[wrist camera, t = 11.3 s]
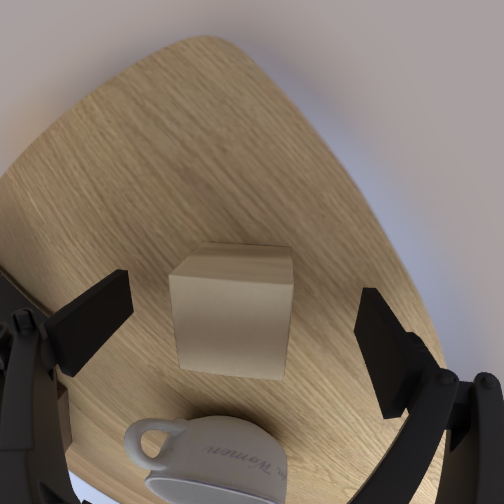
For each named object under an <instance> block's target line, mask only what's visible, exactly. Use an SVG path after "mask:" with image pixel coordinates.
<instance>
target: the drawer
mask: <svg viewBox="0 0 504 504" xmlns="http://www.w3.org/2000/svg"><path fill="white" fill-rule="evenodd" d="M22 308H31V309H32V310H33V311H34V314H35V317H36V321H37V324H38V326H39V325H40V324H41V323H43V322H44V321H45V320H46V319H48V317H47V316H46V315H45V314H44V313H42V312H41V311H40V310H39V309H38V308H37V307H36V306H34V305H33V304H32V303H31V302H30V301H29V300H28V299H27V298H26V297H24V296H23V295H22V294H21V293H20V292H19V291H18V290H17V289H16V288H15V287H14V286H13V285H12V284H11V283H10V282H9V281H8V280H7V279H6V278H5V277H4V276H3V275H2V274H1V273H0V322H6V323H7V324H8V326H9V329H10V331H12V332H15V329H14V326H13V323H12V320H11V317H10V316H11V314H12V313H14V312H15V311H17V310H19V309H22ZM1 368H2V363H1V361H0V369H1Z"/></svg>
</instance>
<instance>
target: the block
mask: <svg viewBox="0 0 504 504" xmlns="http://www.w3.org/2000/svg"><path fill="white" fill-rule="evenodd" d="M169 287H170V297H171V307H172V316H173V324H174V332H175V339H176V346H177V353H178V360H179V366H180V368H181V369H186V370H192V371H198V372H204V373H211V374H218V375H226V376H235V377H244V378H254V379H266V380H281V381H282V380H283V378H284V371H285V363H286V355H287V347H288V339H289V331H290V322H291V313H292V304H293V294H294V275H293V262H292V249H291V247H277V246H261V245H244V244H227V243H209V242H202V243H201V244H200V245H199V246H198V247H197V248H196V249H194V250H193V251H192V252H191V253H190V254H189V255H188V256H187V257H186V258H185V259H184V260H183V261H182V262H181V263H180V264H179V265H178V266H177V267H176V268H175V269H174V270H173V271H172V272H171V273H170V274H169Z"/></svg>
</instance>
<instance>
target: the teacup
mask: <svg viewBox="0 0 504 504" xmlns="http://www.w3.org/2000/svg"><path fill="white" fill-rule="evenodd" d="M148 430H161V431H165V432H168V433H170V434H169V435H168V437H167V438H166V440H165V442H164V444H163V446H162V448H161V450H160V452H159V454H158V455H157V457H155V458H151V457H149V456H147V455H146V454H145V453H144V452H143V450H142V447H141V437H142V435H143V433H144V432H146V431H148ZM124 448H125V451H126V453H127V455H128V457H129V458H130V459H131V461H132V462H133V463H135V464H136V465H138V466H140V467H141V468H144V469H148V470H151V472H150V474H149V476H147V477H146V479H145V485H146V486H147V487H148V489H149V490H150V491H152V492H153V493H154V494H156V495H157V496H158V497H160V498H162V499H163V500H165V501H167V502H169V503H171V504H285V498H286V489H287V458H286V454H285V451H284V449H283V447H282V446H281V445H280V443H279V442H278V441H277V440H276V439H275V438H273V437H272V436H271V435H269V434H268V433H266V432H265V431H264V430H263V429H261V428H260V427H258V426H257V425H255V424H253V423H251V422H248V421H246V420H242V419H239V418H235V417H230V416H207V417H202V418H198V419H192V420H189V421H187V420H186V419H183V418H176V419H174V420H173V421H172V420H166V419H158V418H147V419H142V420H139V421H137V422H135V423H133V424H132V425H130V427H129V428H128V429H127V430H126V432H125V436H124Z"/></svg>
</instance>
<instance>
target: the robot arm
mask: <svg viewBox="0 0 504 504" xmlns="http://www.w3.org/2000/svg"><path fill="white" fill-rule="evenodd" d="M133 312H134V310H133V304H132V298H131V291H130V284H129V277H128V270H119V269H117V270H115V271H114V272H113V273H111V274H110V275H108V276H107V277H105V278H104V279H102V280H101V281H100V282H98V283H97V284H95V285H94V286H92V287H91V288H90V289H88V290H87V291H85V292H84V293H83V294H81V295H80V296H78V297H77V298H76V299H74V300H73V301H72V302H70V303H69V304H67V305H65V306H64V307H62V308H61V309H60V310H59V311H57V312H56V313H54V315H52V316H50V317H49V318H48V319H46V320H45V321H44V322H43V323H41V324H40V325H39V326H38V324H37V321H36V317H35V314H34V311H33V310H32V309H31V308H22V309H19V310H17V311H15V312H14V313H12V314H11V316H10V317H11V320H12V323H13V326H14V329H15V332H12V331H10V329H9V326H8V324H7V323H6V322H0V361H1V363H2V368H1V369H0V504H81V502H80V500H79V499H78V498H77V496H76V494H75V493H74V491H73V488H72V485H71V481H70V477H69V472H68V468H67V463H66V458H65V453H64V448H63V442H62V435H61V428H60V420H59V410H58V398H57V380H56V371H55V368H54V366H55V365H56V364H57V363H58V365H59V367H60V369H61V372H62V373H63V374H66V375H68V376H71V377H74V376H75V375H76V374H77V373H78V372H79V371H80V370H81V368H82V367H83V366H84V365H85V364H86V363H87V362H88V361H89V360H90V358H91V357H92V356H93V355H94V354H95V353H96V352H97V351H98V350H99V349H100V347H101V346H102V345H103V344H104V343H105V342H106V341H107V340H108V339H109V338H110V337H111V336H112V335H113V333H114V332H115V331H116V330H117V329H118V328H119V327H120V326H121V325H122V324H123V323H124V322H125V321H126V320H127V319H128V318H129V317H130V316H131V315H132V313H133ZM354 334H355V336H356V339H357V342H358V344H359V347H360V350H361V353H362V355H363V358H364V361H365V364H366V367H367V370H368V372H369V375H370V378H371V381H372V384H373V387H374V390H375V393H376V396H377V399H378V402H379V406H380V409H381V412H382V415H383V419H390V418H398V417H401V415H402V414H403V412H404V410H405V408H407V411H408V413H409V415H408V417H407V419H406V420H405V422H404V424H403V425H402V427H401V429H400V430H399V432H398V434H397V436H396V437H395V439H394V441H393V442H392V444H391V445H390V447H389V448H388V450H387V451H386V453H385V454H384V456H383V457H382V459H381V460H380V462H379V463H378V465H377V466H376V467H375V469H374V470H373V472H372V473H371V474H370V476H369V477H368V478H367V480H366V481H365V482H364V483H363V485H362V486H361V487H360V488H359V490H358V491H357V492H356V493H355V495H354V496H353V497H352V498H351V499H350V500H349V502H348V503H347V504H409V502H410V501H411V499H412V497H413V495H414V494H415V492H416V490H417V488H418V487H419V485H420V483H421V481H422V479H423V477H424V475H425V473H426V471H427V469H428V467H429V465H430V463H431V461H432V459H433V457H434V454H435V452H436V450H437V447H438V445H439V443H440V440H441V438H442V435H443V433H444V430H445V429H446V441H445V450H444V458H443V465H442V472H441V477H440V483H439V488H438V492H437V497H436V501H435V504H504V400H503V395H502V390H501V385H500V382H499V380H498V379H497V378H496V377H495V376H494V375H492V374H491V373H487V372H481V373H478V374H477V376H476V377H475V379H474V380H473V382H464V381H459V379H458V377H457V375H456V374H455V373H453V372H452V371H450V370H448V369H444V368H440V367H439V365H438V364H437V362H436V360H435V359H434V357H433V356H432V354H431V353H430V351H429V350H428V348H427V347H426V346H425V344H424V342H423V341H422V339H421V338H420V337H419V336H417V335H416V334H415V333H413V332H406V331H405V330H404V328H403V327H402V325H401V324H400V322H399V321H398V319H397V318H396V316H395V315H394V313H393V312H392V310H391V309H390V307H389V306H388V304H387V303H386V301H385V300H384V299H383V297H382V296H381V294H380V293H379V291H378V290H377V289H376V288H365V287H363V290H362V295H361V300H360V305H359V310H358V315H357V319H356V323H355V328H354ZM82 504H92V503H90V502H88V501H86V500H83V502H82Z"/></svg>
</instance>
